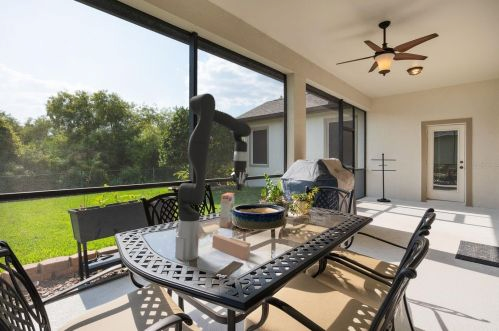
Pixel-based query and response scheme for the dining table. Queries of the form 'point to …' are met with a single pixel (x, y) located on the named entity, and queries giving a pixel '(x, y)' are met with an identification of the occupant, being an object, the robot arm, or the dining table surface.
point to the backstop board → (231, 247)
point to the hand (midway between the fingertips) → (238, 190)
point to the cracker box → (226, 209)
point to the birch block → (241, 242)
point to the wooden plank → (229, 268)
